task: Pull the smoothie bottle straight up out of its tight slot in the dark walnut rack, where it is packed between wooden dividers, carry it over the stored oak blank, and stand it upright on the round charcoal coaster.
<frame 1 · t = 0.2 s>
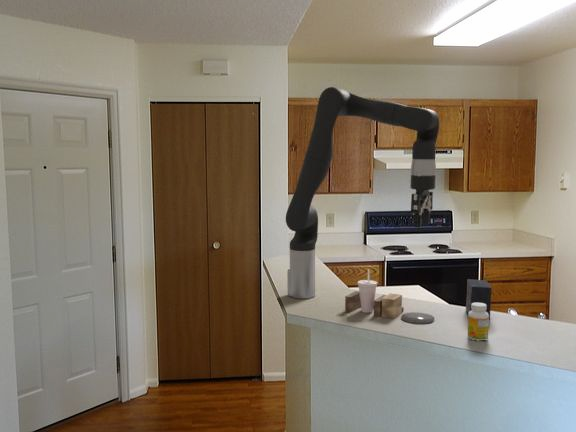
hand: (421, 225, 170), 29 cm above the countertop, fingers open, 8 cm apart
supplement bottle: (477, 339, 150), on the countertop
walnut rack: (372, 311, 175), on the countertop
smoothie: (367, 311, 176), on the countertop
coaster: (417, 318, 168), on the countertop
small box: (477, 315, 172), on the countertop
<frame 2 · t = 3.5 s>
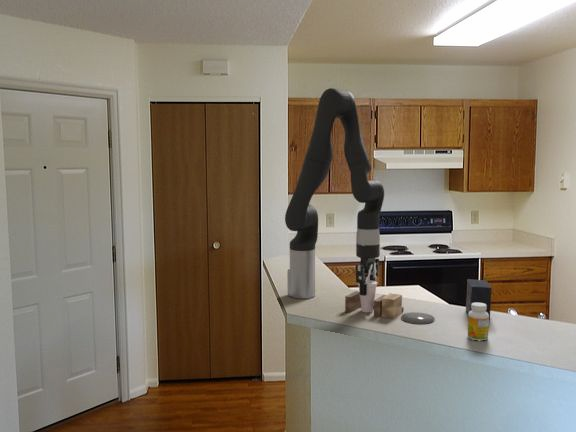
hand: (367, 292, 176), 6 cm above the countertop, fingers closed on smoothie, 6 cm apart
smoothie: (367, 311, 176), on the countertop, touching gripper
everything else where it was.
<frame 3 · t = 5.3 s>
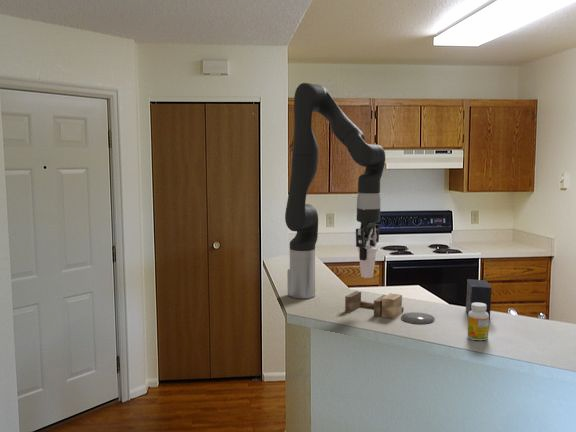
hand: (367, 258, 175), 18 cm above the countertop, fingers closed on smoothie, 6 cm apart
smoothie: (366, 277, 175), point 11 cm above the countertop, touching gripper
everything else where it was.
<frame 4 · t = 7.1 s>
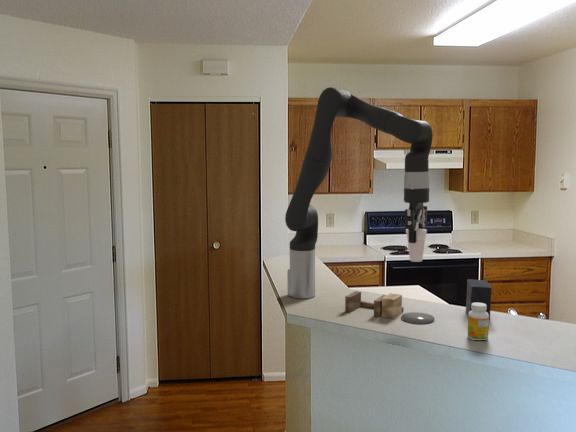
hand: (416, 241, 165), 24 cm above the countertop, fingers closed on smoothie, 6 cm apart
smoothie: (416, 261, 166), point 18 cm above the countertop, touching gripper
everything else where it was.
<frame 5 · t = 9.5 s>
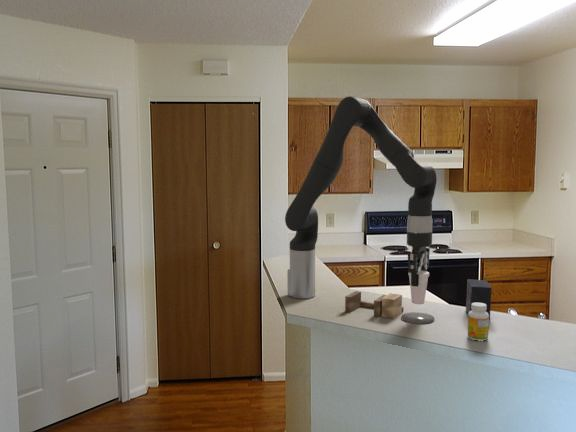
hand: (418, 283, 166), 11 cm above the countertop, fingers closed on smoothie, 6 cm apart
smoothie: (417, 303, 167), point 5 cm above the countertop, touching gripper
everything else where it was.
when the fingers open (8 cm above the countertop, at t = 11.2 s): smoothie drops 1 cm, resting on coaster.
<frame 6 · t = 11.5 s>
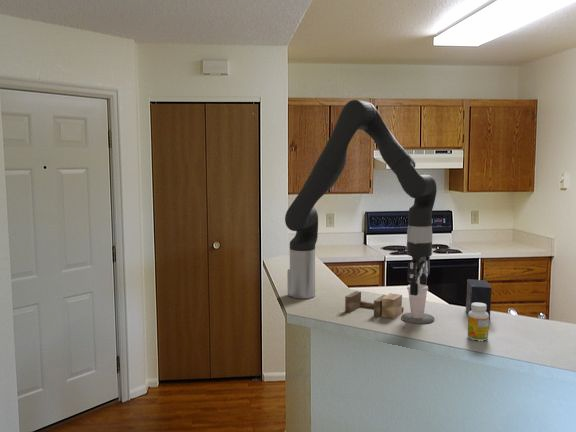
hand: (418, 292, 167), 9 cm above the countertop, fingers open, 8 cm apart
smoothie: (417, 317, 168), resting on coaster
everything else where it was.
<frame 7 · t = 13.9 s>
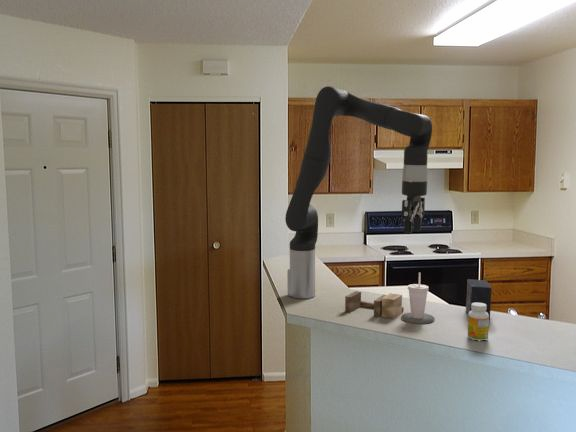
hand: (412, 231, 168), 27 cm above the countertop, fingers open, 8 cm apart
nothing on the countertop moved.
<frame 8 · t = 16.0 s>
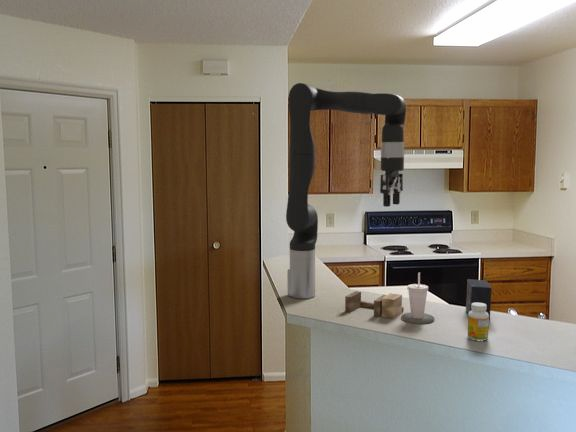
hand: (391, 205, 179), 34 cm above the countertop, fingers open, 8 cm apart
nothing on the countertop moved.
at the end: smoothie 0.2 cm from the coaster (horizontally); smoothie tilted 1°; the gripper is holding nothing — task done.
